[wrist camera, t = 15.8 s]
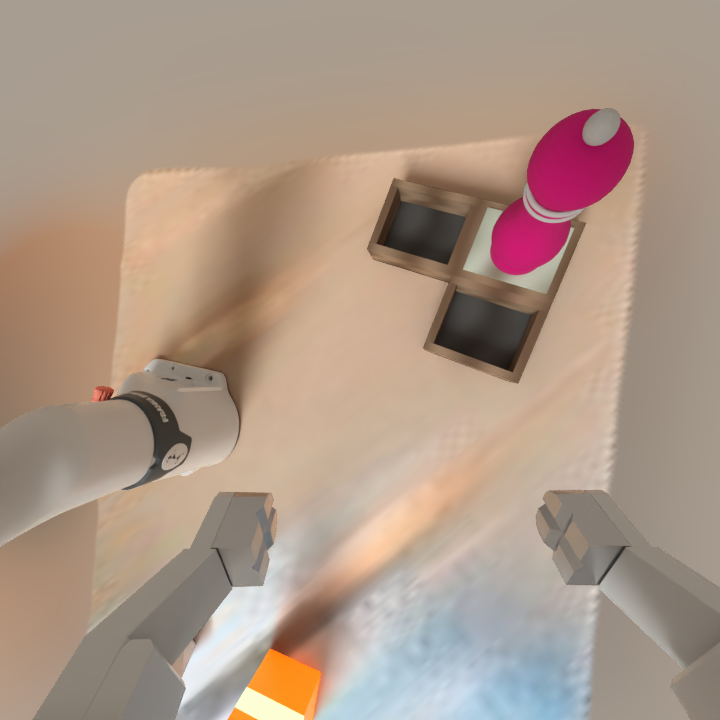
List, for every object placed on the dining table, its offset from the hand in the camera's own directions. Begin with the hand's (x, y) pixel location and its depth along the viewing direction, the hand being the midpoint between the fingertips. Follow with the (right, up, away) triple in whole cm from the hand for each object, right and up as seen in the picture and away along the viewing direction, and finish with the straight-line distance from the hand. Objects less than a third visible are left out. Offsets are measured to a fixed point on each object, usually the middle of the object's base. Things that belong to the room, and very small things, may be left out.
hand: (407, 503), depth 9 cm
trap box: (+11, +15, +33) cm, 38 cm away
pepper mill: (+18, +18, +28) cm, 37 cm away
